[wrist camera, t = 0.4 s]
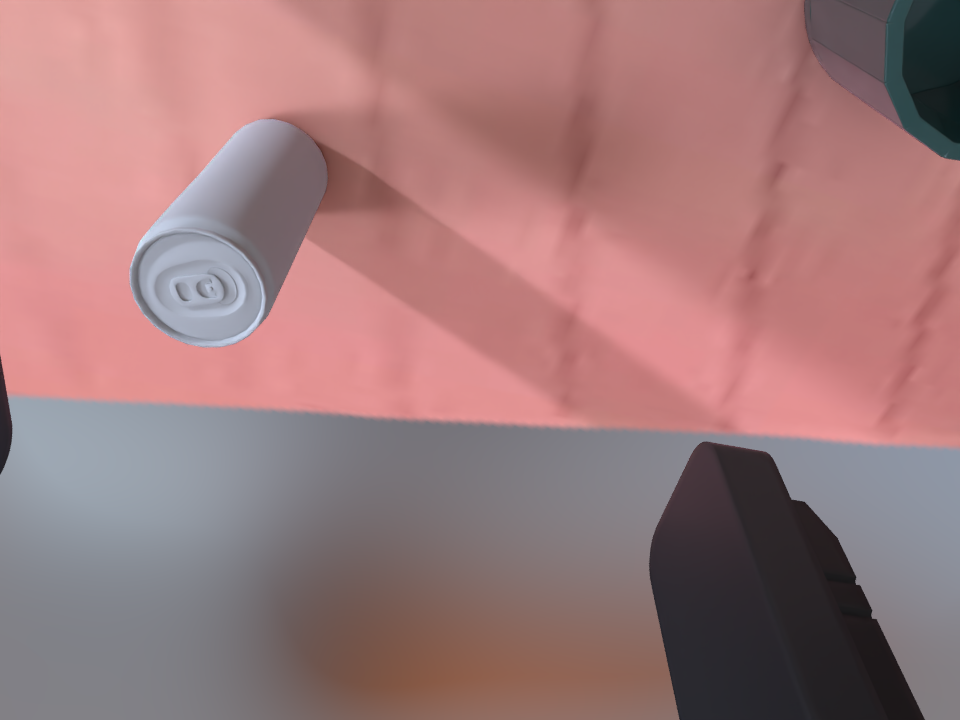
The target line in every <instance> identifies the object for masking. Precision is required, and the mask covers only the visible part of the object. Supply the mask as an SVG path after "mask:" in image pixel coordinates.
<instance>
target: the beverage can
mask: <svg viewBox="0 0 960 720" xmlns="http://www.w3.org/2000/svg"><path fill="white" fill-rule="evenodd" d="M327 181H328V174H327V166H326V162H325V160H324V157H323V155H322V152H321V150H320V149H319V148H318V146H317V145H316V143H315V142H314V141H313V139H312V138H311V137H309V136H308V135H307V134H306V133H305V132H304V131H302V130H301V129H299V128H297V127H296V126H294V125H292V124H290V123H288V122H284V121H280V120H276V119H261V120H257V121H254V122H252V123H249V124H247V125H245V126H244V127H242V128H241V129H240V130H238V131H237V132H236V133H235V134H234V135H233V136H232V137H231V138H230V140H229V141H228V142H227V143H226V144H225V145H224V146H223V148H222V149H221V150H220V151H219V152H218V153H217V155H216V156H215V157H214V158H213V159H212V160H211V162H210V163H209V164H208V165H207V166H206V167H205V169H204V170H203V171H202V172H201V173H200V174H199V175H198V176H197V177H196V178H195V180H194V181H193V182H192V183H191V184H190V185H189V186H188V187H187V188H186V189H185V190H184V191H183V192H182V193H181V194H180V196H179V197H178V198H177V199H176V200H175V201H174V202H173V203H172V204H171V205H170V206H169V207H168V209H167V210H166V211H165V212H164V213H163V214H162V215H161V216H160V218H159V219H158V220H157V221H156V222H155V223H154V224H153V226H152V227H151V228H150V229H149V230H148V232H147V233H146V234H145V235H144V237H143V238H142V239H141V241H140V242H139V244H138V247H137V250H136V253H135V255H134V258H133V261H132V263H131V266H130V286H131V290H132V293H133V297H134V300H135V301H136V303H137V305H138V306H139V308H140V310H141V311H142V313H143V314H144V315H145V316H146V318H147V319H148V320H149V321H150V322H151V323H152V324H153V325H154V326H155V327H156V328H158V329H159V330H161V331H162V332H164V333H165V334H167V335H168V336H170V337H172V338H174V339H176V340H179V341H181V342H183V343H186V344H190V345H194V346H199V347H223V346H227V345H231V344H235V343H237V342H239V341H241V340H243V339H245V338H246V337H248V336H249V335H250V334H251V333H252V332H253V331H254V330H255V329H256V328H257V327H258V326H259V325H260V324H261V323H262V322H263V321H264V320H265V319H266V318H267V316H268V314H269V312H270V310H271V308H272V306H273V304H274V302H275V300H276V298H277V295H278V293H279V291H280V289H281V287H282V285H283V282H284V280H285V278H286V276H287V274H288V272H289V270H290V267H291V265H292V263H293V261H294V259H295V257H296V254H297V252H298V250H299V248H300V246H301V244H302V241H303V239H304V237H305V235H306V233H307V231H308V228H309V226H310V224H311V222H312V220H313V218H314V215H315V213H316V211H317V209H318V207H319V205H320V202H321V200H322V198H323V196H324V194H325V192H326V188H327Z"/></svg>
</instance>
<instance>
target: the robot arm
mask: <svg viewBox="0 0 960 720" xmlns="http://www.w3.org/2000/svg"><path fill="white" fill-rule="evenodd" d="M11 441H12V421H11V415H10V409H9V403H8V397H7V392H6V386H5V380H4V374H3V368H2V363H1V357H0V474H1V472H2V470H3V468H4V466H5V463H6V460H7V458H8V455H9V451H10V446H11ZM649 568H650V569H649V570H650V580H651V585H652V590H653V595H654V600H655V605H656V609H657V614H658V619H659V623H660V628H661V633H662V638H663V643H664V647H665V652H666V657H667V662H668V667H669V671H670V676H671V681H672V686H673V690H674V695H675V700H676V705H677V710H678V714H679V719H680V720H925V719H924V717H923V715H922V713H921V711H920V709H919V707H918V705H917V702H916V700H915V698H914V696H913V694H912V692H911V690H910V688H909V686H908V684H907V682H906V680H905V678H904V675H903V674H902V671H901V669H900V667H899V665H898V663H897V661H896V659H895V657H894V655H893V653H892V650H891V648H890V646H889V644H888V642H887V640H886V638H885V636H884V634H883V632H882V630H881V628H880V626H879V623H878V622H877V619H872V617H871V613H872V609H871V607H870V605H869V603H868V601H867V599H866V597H865V594H864V592H863V590H862V588H861V586H860V585H856V583H855V580H856V576H855V574H854V572H853V569H852V567H851V565H850V563H849V561H848V559H847V557H846V555H845V553H844V551H843V549H842V547H841V545H840V543H839V540H838V538H837V537H836V536H835V535H834V534H833V533H832V532H831V530H829V528H828V527H827V526H826V525H825V524H824V523H823V522H822V520H821V519H820V518H819V517H818V516H817V515H816V514H815V513H814V512H813V510H812V509H811V508H810V507H809V506H808V505H807V504H806V503H805V502H802V501H796V500H791V498H790V496H789V493H788V491H787V489H786V487H785V484H784V482H783V480H782V477H781V475H780V473H779V471H778V469H777V466H776V464H775V462H774V460H773V458H772V457H771V456H770V455H769V454H768V453H767V452H763V451H758V450H752V449H746V448H741V447H735V446H729V445H723V444H717V443H711V442H702V443H700V444H699V445H698V446H697V447H696V448H695V450H694V451H693V453H692V455H691V456H690V458H689V461H688V463H687V465H686V467H685V469H684V471H683V473H682V475H681V477H680V479H679V481H678V484H677V485H676V488H675V490H674V492H673V494H672V496H671V498H670V500H669V502H668V504H667V506H666V508H665V510H664V513H663V515H662V517H661V519H660V521H659V523H658V525H657V527H656V530H655V533H654V535H653V539H652V544H651V550H650V563H649Z"/></svg>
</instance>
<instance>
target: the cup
mask: <svg viewBox="0 0 960 720" xmlns="http://www.w3.org/2000/svg"><path fill="white" fill-rule="evenodd" d="M804 12H805V24H806V30H807V34H808V38H809V42H810V44H811V47H812V50H813V52H814V54H815V56H816V58H817V60H818V61H819V63H820V65H821V66H822V67H823V69H824V70H825V71H826V72H827V74H828V75H829V77H831V79H833V80H834V81H835V82H837V83H838V84H839V85H841V86H842V87H843V88H845V89H846V90H848V91H849V92H850V93H852V94H853V95H854V96H856V97H857V98H859V99H860V100H861V101H863V102H864V103H866V104H867V105H868V106H870V107H871V108H873V109H874V110H875V111H877V112H878V113H880V114H881V115H882V116H884V117H885V118H887V119H888V120H890V121H891V122H892V123H894V124H895V125H897V126H898V127H899V128H901V129H902V130H904V131H905V132H907V133H908V134H909V135H911V136H912V137H914V138H915V139H916V140H918V141H919V142H921V143H922V144H924V145H925V146H926V147H928V148H929V149H931V150H932V151H933V152H935V153H936V154H938V155H939V156H941V157H943V158H946V159H952V160H958V161H960V0H805V5H804Z"/></svg>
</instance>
